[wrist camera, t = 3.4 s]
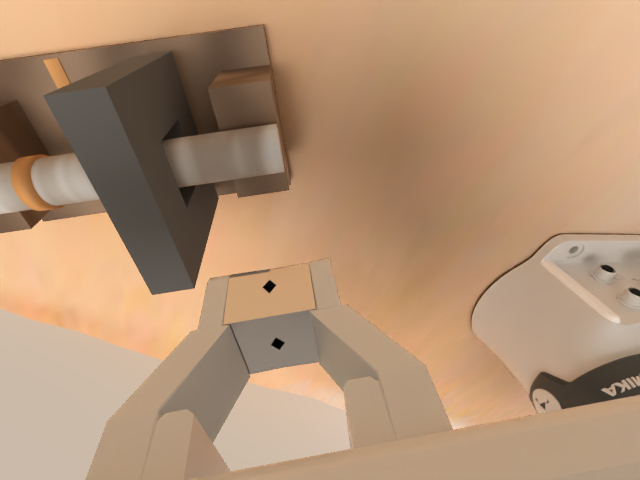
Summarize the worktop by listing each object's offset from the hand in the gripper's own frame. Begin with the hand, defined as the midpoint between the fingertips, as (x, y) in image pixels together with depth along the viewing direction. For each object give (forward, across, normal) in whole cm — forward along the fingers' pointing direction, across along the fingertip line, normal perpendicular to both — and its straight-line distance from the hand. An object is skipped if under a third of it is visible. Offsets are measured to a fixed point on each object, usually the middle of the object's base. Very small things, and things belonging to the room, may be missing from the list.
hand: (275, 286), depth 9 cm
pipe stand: (+18, -8, 0) cm, 20 cm away
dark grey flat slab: (+15, -6, 0) cm, 16 cm away
